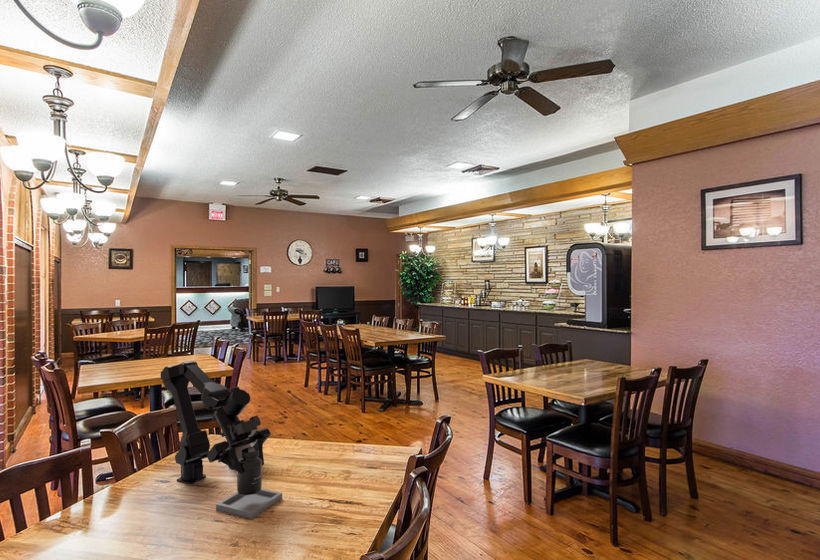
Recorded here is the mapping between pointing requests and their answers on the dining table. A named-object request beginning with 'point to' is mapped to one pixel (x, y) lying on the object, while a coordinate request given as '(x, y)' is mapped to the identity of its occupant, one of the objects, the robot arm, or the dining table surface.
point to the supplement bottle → (250, 472)
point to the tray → (249, 503)
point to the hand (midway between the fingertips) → (252, 469)
